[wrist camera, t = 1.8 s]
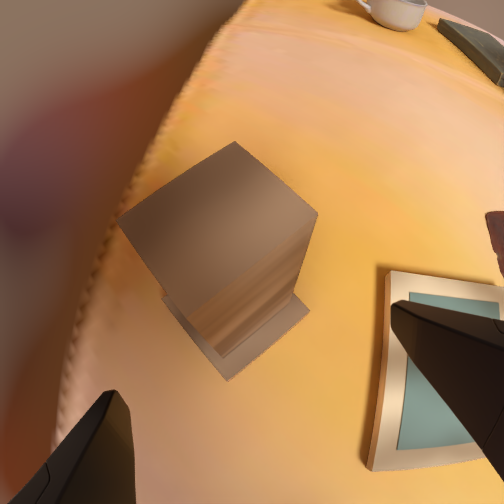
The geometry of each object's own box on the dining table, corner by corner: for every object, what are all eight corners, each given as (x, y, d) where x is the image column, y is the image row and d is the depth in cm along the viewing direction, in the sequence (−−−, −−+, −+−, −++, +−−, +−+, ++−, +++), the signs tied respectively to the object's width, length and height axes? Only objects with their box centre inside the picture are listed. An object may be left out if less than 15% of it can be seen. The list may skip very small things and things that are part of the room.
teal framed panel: (494, 452, 15) (503, 453, 14) (366, 468, 16) (372, 471, 15) (499, 292, 21) (508, 287, 20) (384, 276, 22) (391, 269, 21)
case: (434, 30, 45) (494, 87, 37) (439, 15, 41) (503, 71, 33) (484, 44, 46) (538, 98, 38) (489, 32, 43) (545, 85, 34)
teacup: (407, 20, 45) (415, -11, 37) (426, 43, 40) (437, 8, 33) (342, 6, 45) (347, -27, 38) (353, 26, 41) (360, -13, 33)
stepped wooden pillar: (307, 314, 21) (358, 225, 10) (228, 381, 19) (191, 366, 9) (241, 244, 24) (230, 118, 13) (165, 303, 22) (87, 211, 11)
